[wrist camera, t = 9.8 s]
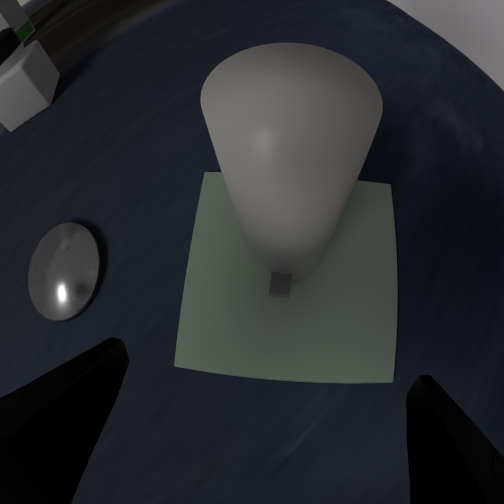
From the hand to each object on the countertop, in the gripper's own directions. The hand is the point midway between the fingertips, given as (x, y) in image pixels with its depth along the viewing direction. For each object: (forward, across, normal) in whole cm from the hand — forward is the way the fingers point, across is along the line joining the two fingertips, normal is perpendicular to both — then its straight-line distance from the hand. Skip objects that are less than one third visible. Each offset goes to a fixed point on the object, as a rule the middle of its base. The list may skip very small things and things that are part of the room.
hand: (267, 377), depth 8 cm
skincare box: (+41, +64, -32) cm, 82 cm away
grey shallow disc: (+8, +15, +3) cm, 17 cm away
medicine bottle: (+21, +32, -11) cm, 40 cm away
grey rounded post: (+10, 0, 0) cm, 10 cm away
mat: (+9, 0, +2) cm, 9 cm away
